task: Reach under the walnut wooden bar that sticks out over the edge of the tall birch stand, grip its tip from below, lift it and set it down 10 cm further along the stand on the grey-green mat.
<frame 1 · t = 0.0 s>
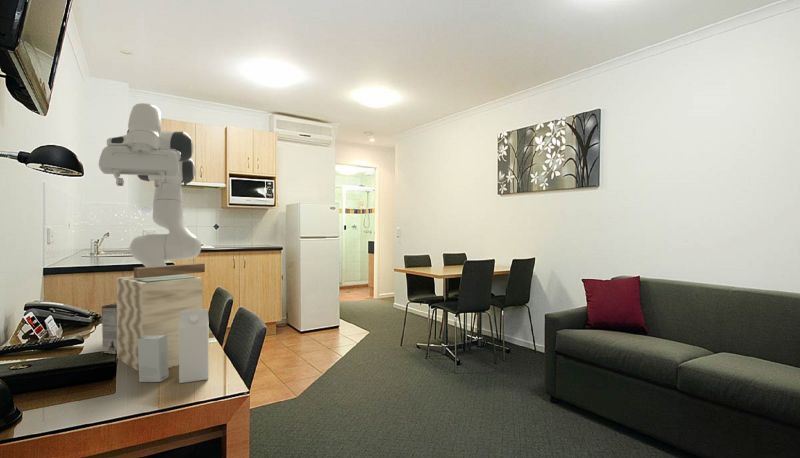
hand: (138, 185, 120), 54 cm above the table, tool tilted 30°, fingers open, 8 cm apart
walnut bar: (171, 274, 141), point 26 cm above the table, touching birch stand
birch stand: (159, 358, 132), on the table
milk carton: (194, 378, 116), on the table
skincare box: (153, 380, 115), on the table
coffee box: (121, 351, 142), on the table
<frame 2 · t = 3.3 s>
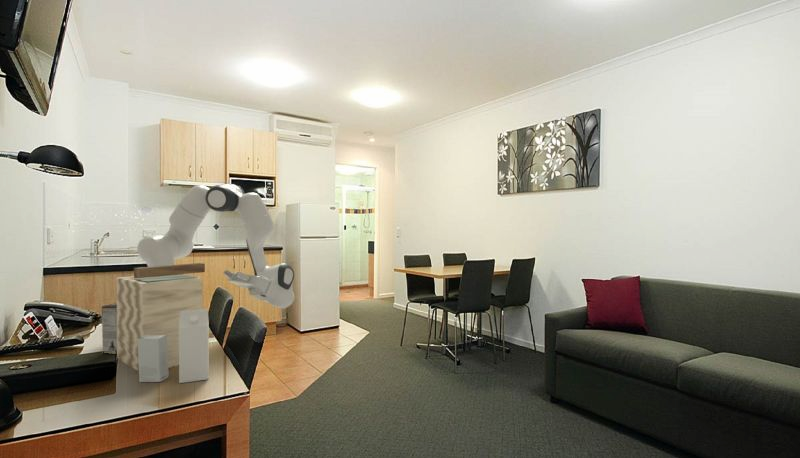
hand: (231, 272, 157), 25 cm above the table, tool pointing upward, fingers open, 8 cm apart
nothing on the table moved.
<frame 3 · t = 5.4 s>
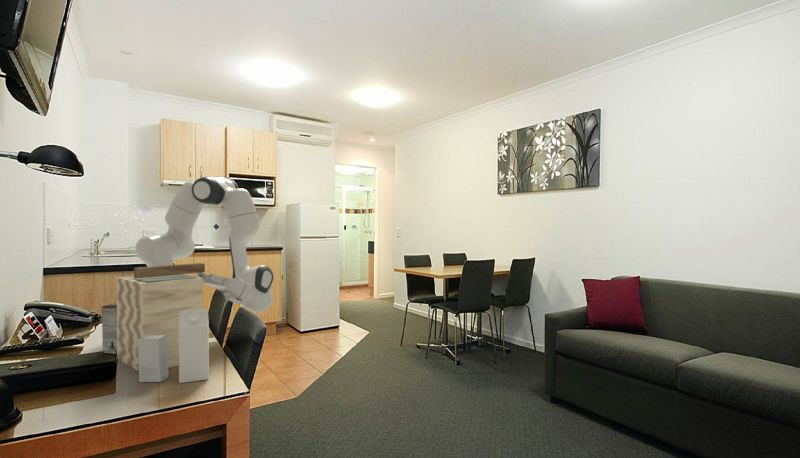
hand: (204, 274, 149), 25 cm above the table, tool pointing upward, fingers open, 8 cm apart
nothing on the table moved.
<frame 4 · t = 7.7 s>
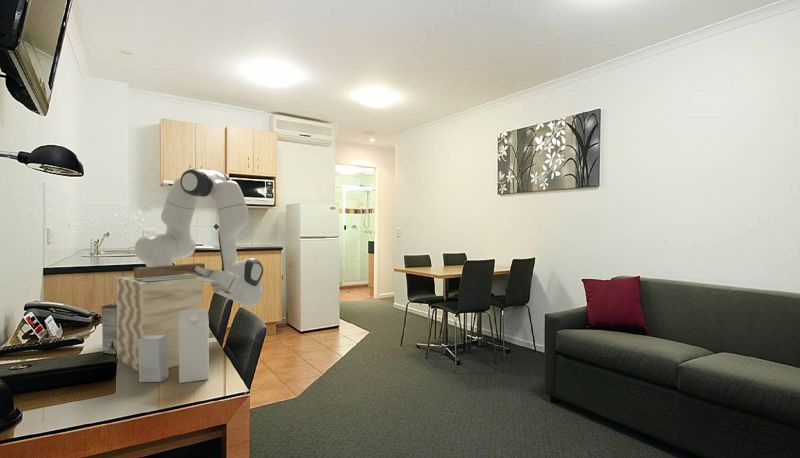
hand: (191, 267, 146), 28 cm above the table, tool pointing upward, fingers closed on walnut bar, 4 cm apart
walnut bar: (171, 274, 141), point 26 cm above the table, touching birch stand, gripper
everything else where it was.
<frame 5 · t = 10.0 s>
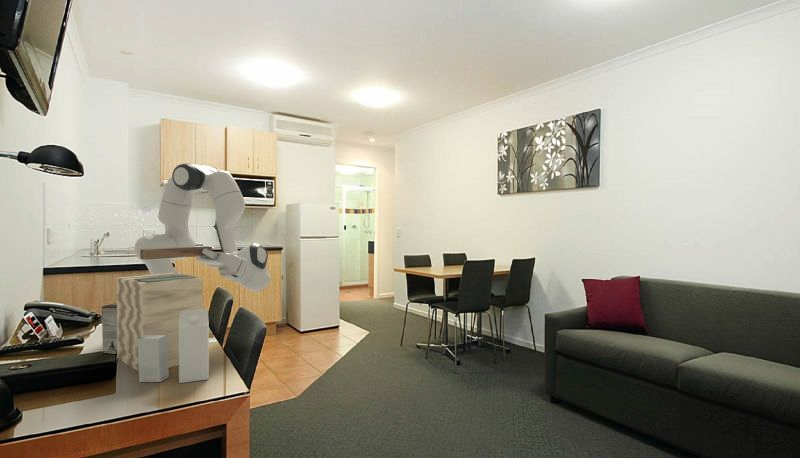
hand: (198, 250, 142), 34 cm above the table, tool pointing upward, fingers closed on walnut bar, 4 cm apart
walnut bar: (178, 257, 137), point 32 cm above the table, touching gripper
everything else where it was.
when the fingers open (29 cm above the table, at t = 12.5 s): walnut bar drops 1 cm, resting on birch stand.
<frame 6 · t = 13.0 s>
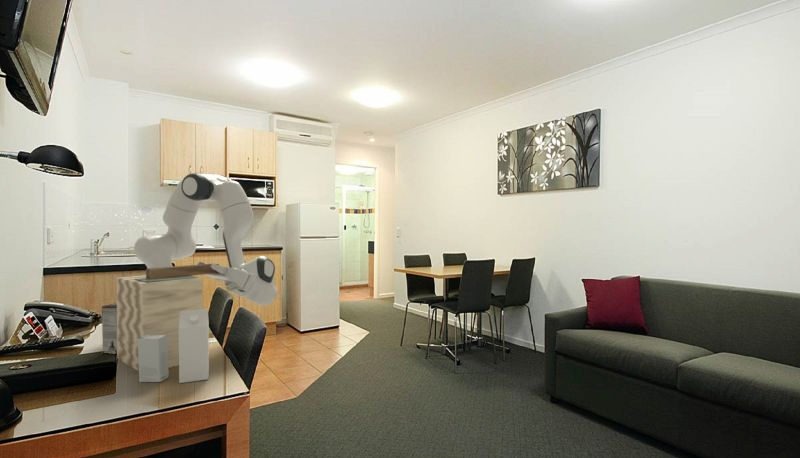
hand: (204, 264, 140), 29 cm above the table, tool pointing upward, fingers open, 8 cm apart
walnut bar: (184, 275, 134), point 26 cm above the table, touching birch stand
everything else where it was.
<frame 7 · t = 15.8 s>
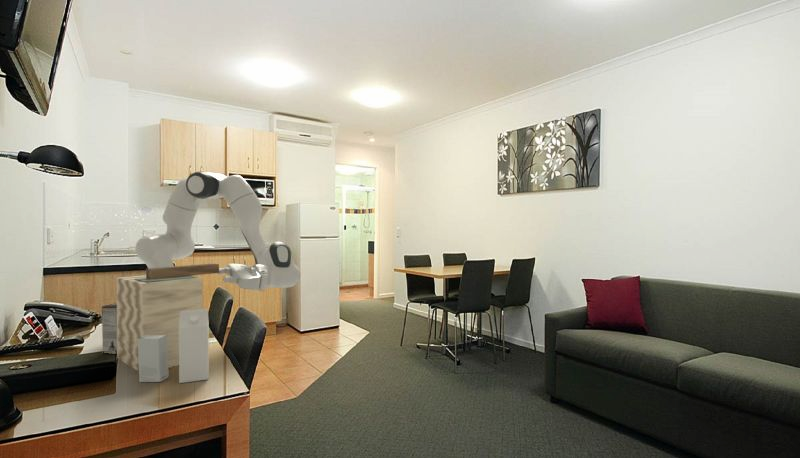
hand: (219, 275, 149), 25 cm above the table, tool horizontal, fingers open, 8 cm apart
nothing on the table moved.
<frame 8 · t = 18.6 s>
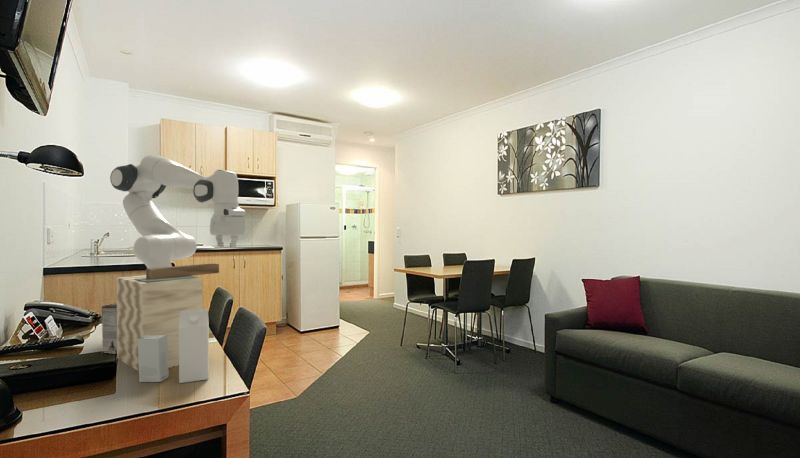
hand: (226, 247, 161), 34 cm above the table, tool pointing down, fingers open, 8 cm apart
nothing on the table moved.
at the end: walnut bar inside the target area (0.5 cm from its centre), point 26.4 cm above the table; the gripper is holding nothing; walnut bar tilted 0° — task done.
